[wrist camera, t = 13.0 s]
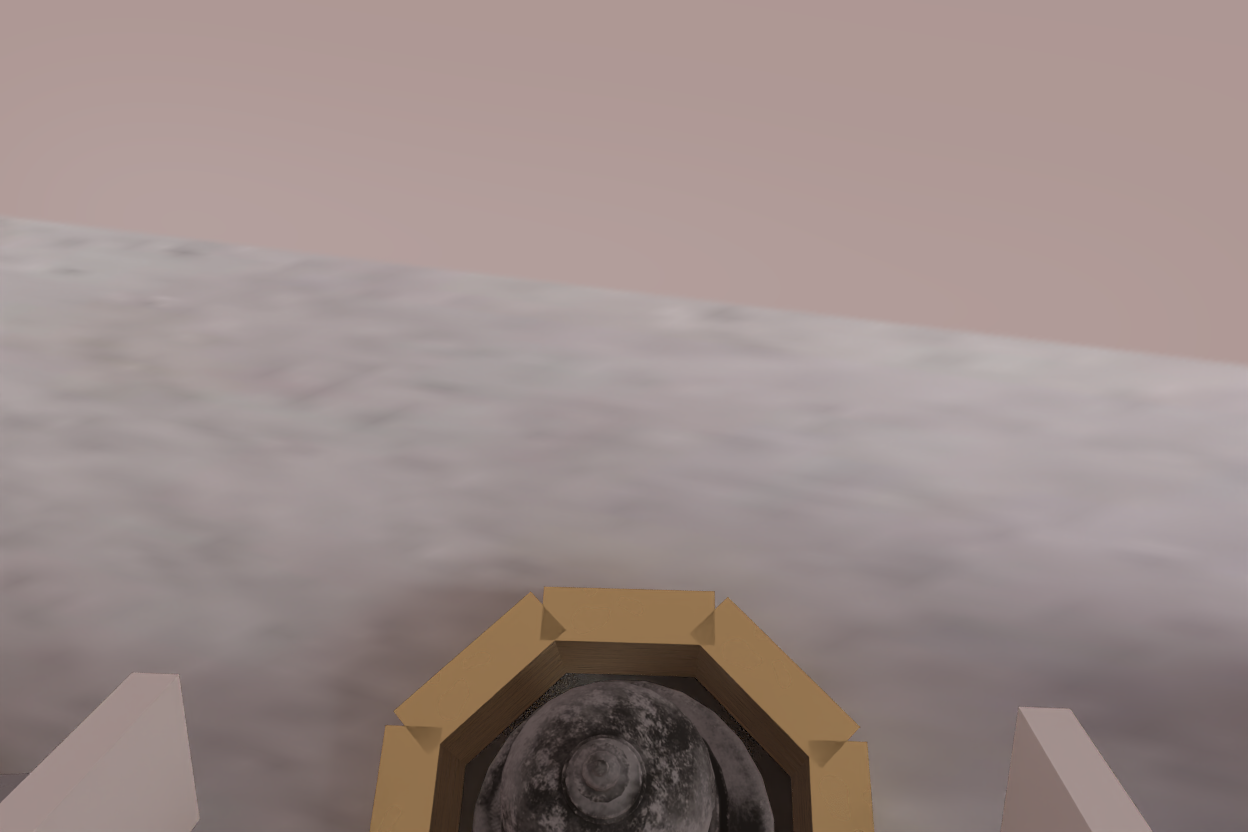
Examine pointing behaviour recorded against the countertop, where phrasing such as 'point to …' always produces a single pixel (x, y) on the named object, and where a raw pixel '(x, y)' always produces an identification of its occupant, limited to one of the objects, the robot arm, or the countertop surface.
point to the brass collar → (624, 645)
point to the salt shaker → (623, 767)
